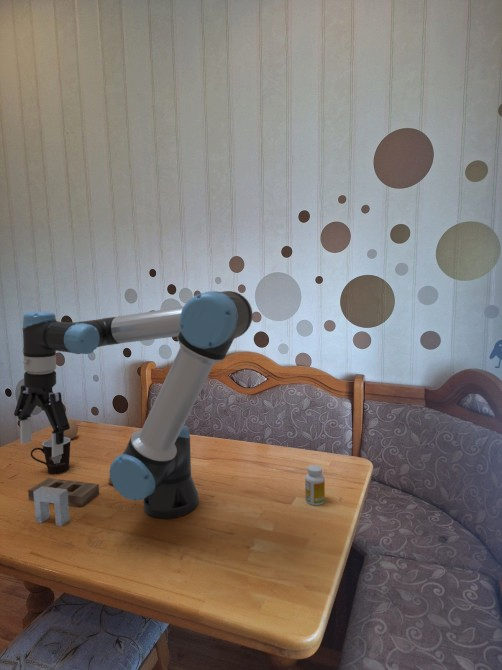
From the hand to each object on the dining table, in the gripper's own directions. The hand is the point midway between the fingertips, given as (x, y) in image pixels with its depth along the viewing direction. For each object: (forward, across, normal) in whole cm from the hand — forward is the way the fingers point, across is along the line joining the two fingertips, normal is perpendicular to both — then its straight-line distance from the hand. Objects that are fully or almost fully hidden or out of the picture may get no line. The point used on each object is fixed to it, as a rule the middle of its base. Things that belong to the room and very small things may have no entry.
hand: (41, 448), depth 113 cm
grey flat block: (+19, -3, +9) cm, 21 cm away
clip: (+18, +6, -1) cm, 19 cm away
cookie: (+18, +4, +25) cm, 32 cm away
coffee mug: (+20, -22, +19) cm, 36 cm away
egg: (+21, -44, +41) cm, 64 cm away
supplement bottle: (+14, +63, +41) cm, 76 cm away
